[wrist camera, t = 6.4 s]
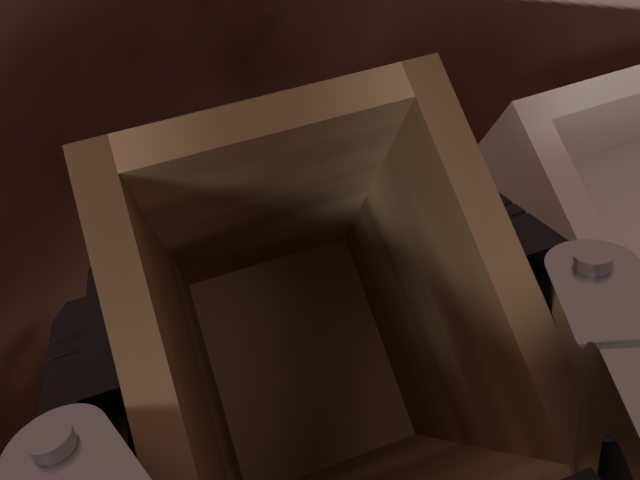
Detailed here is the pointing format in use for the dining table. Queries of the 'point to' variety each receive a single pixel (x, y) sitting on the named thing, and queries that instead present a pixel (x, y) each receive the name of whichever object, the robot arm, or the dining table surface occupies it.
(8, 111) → the dining table surface
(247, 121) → the small wooden crate
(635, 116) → the big plastic crate
